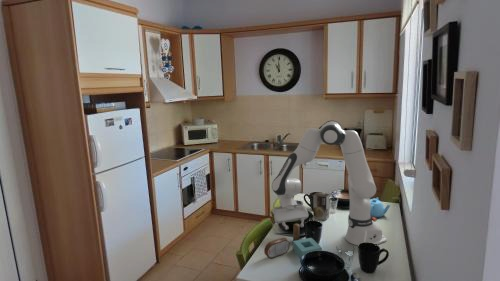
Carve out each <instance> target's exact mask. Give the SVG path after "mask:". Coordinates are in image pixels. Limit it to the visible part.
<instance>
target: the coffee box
mask: <svg viewBox="0 0 500 281" xmlns="http://www.w3.org/2000/svg"><path fill="white" fill-rule="evenodd" d="M330 195H331V194H330V193H324V192H319V191H316V192H315V193H314V194H313V195H312V196H313V198H312V199H313V210H312V211H313V212H312V213H313V214H312V215H313V216H312V217H314V219H318V220H322V221H328V219H329V218H330Z"/></svg>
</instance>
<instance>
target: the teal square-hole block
mask: <svg viewBox="0 0 500 281" xmlns="http://www.w3.org/2000/svg"><path fill="white" fill-rule="evenodd" d="M322 248H323V246H322V247H321V245H320V244H319V243H318V242H316V240H314V239H313V237H308V238H307V237H306V238H302V239H299V240H296V241H293V240H292V250H293V252H294V253H295V252H296V253H295V254H296V255H297V256H298V257H299V259H300V258H301V257H302V256H303V255H305V254H307V253H309V252H312V251H322V250H323V249H322Z"/></svg>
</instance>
